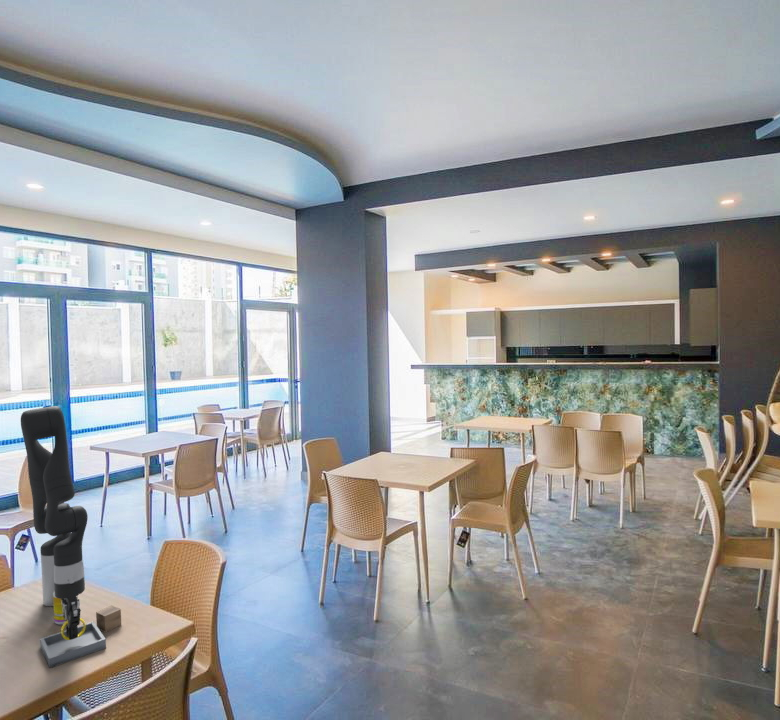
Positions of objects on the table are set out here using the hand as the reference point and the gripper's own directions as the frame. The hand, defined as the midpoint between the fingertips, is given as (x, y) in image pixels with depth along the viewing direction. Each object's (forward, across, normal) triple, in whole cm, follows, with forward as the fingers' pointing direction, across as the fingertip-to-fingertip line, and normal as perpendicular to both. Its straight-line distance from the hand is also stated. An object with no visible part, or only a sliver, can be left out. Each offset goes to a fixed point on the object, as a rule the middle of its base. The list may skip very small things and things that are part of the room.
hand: (72, 636), depth 157 cm
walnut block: (+4, -6, +11) cm, 13 cm away
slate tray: (+3, 0, 0) cm, 3 cm away
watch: (+1, 0, 0) cm, 1 cm away
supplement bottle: (+4, -20, +2) cm, 20 cm away
